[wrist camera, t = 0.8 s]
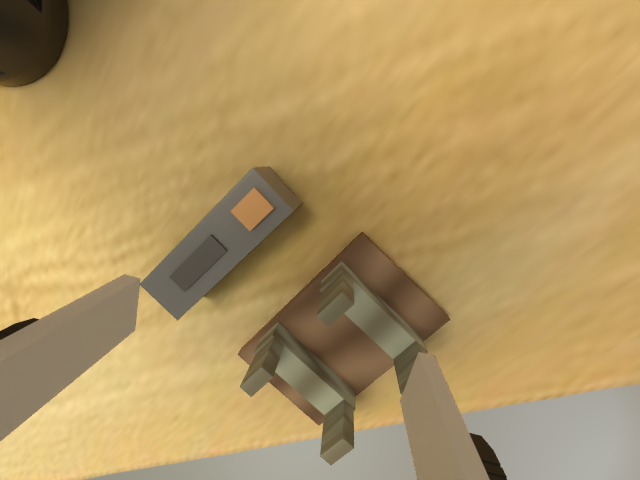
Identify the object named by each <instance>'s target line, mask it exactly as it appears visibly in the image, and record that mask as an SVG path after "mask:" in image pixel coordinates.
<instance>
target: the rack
mask: <svg viewBox="0 0 640 480" xmlns="http://www.w3.org/2000/svg"><path fill="white" fill-rule="evenodd" d="M449 320H450V319H449V317H448V315H447V314H446V313H445V312H444V311H443V310H442V309H441V308H440V307H439V306H438V305H437V304H436V303H435V302H434V301H433V300H432V299H431V298H430V297H429V296H427V295H426V294H425V293H424V292H423V291H422V290H421V289H420V288H419V287H418V286H417V285H416V284H415V283H414V282H413V281H412V280H411V279H410V278H409V277H408V276H407V275H406V274H405V273H404V272H403V271H402V270H401V269H400V268H399V267H398V266H397V265H396V264H395V263H394V262H393V261H392V260H391V259H390V258H389V257H388V256H386V255H385V254H384V253H383V252H382V251H381V250H380V249H379V248H378V247H377V246H376V245H375V244H374V243H373V242H372V241H371V240H370V239H369V238H368V237H367V236H366V235H365V234H364V233H363V232H361V233H360V234H359V235H358V236H357V237H356V238H355V239H354V240H353V241H352V242H351V243H350V244H349V245H348V246H347V247H346V248H345V249H344V250H343V251H342V252H341V253H340V254H339V255H338V256H337V257H335V258H334V259H333V260H332V261H331V262H330V263H329V264H328V265H327V266H326V267H325V268H324V269H323V270H322V271H321V272H320V273H319V274H318V275H317V276H316V277H315V278H314V279H313V280H312V281H311V282H310V283H309V284H308V285H306V286H305V287H304V288H303V289H302V290H301V291H300V292H299V293H298V294H297V295H296V296H295V297H294V298H293V299H292V300H291V301H290V302H289V303H288V304H287V305H286V306H285V307H284V308H283V309H282V310H281V311H280V312H279V313H277V314H276V315H275V316H274V317H273V318H272V319H271V320H270V321H269V322H268V323H267V324H266V325H265V326H264V327H263V328H262V329H261V330H260V331H259V332H258V333H257V334H256V335H255V336H254V337H253V338H252V339H251V340H250V341H248V342H247V343H246V344H245V345H244V346H243V347H242V348H241V350H240V351H239V353H238V355H239V356H240V357H241V358H242V359H243V360H244V361H246V362H247V363H248V364H249V365H250V367H249V369H248V371H247V373H246V375H245V377H244V379H243V381H242V383H241V386H240V388H242V389H243V390H244V391H245V392H246V393H247V394H249V395H250V396H251V397H252V396H253V395H254V394H255V393H256V392H257V391H259V390H260V389H261V388H262V387H263V386H264V385H265V384H266V383H267V382H270V383H271V384H272V385H273V386H274V387H275V388H276V389H278V390H279V391H280V392H281V393H282V394H283V395H285V396H286V397H287V398H288V399H289V400H290V401H291V402H293V403H294V404H295V405H296V406H297V407H298V408H299V409H301V410H302V411H303V412H304V413H305V414H306V415H307V416H309V417H310V418H311V419H312V420H313V421H314V422H315V423H317V424H318V425H320V424H322V423H323V422H324V423H323V433H322V444H321V453H320V454H321V455H320V456H321V457H322V458H323V459H324V460H325V461H327V462H328V463H329V464H330V465H332V464H334V463H335V462H336V461H338V460H339V459H340V458H341V457H343V456H344V455H345V454H347V453H348V452H349V451H351V450H352V449H353V448H354V415H353V411H354V410H355V396H356V395H358V394H359V393H360V392H361V391H362V390H364V389H365V388H366V387H367V386H369V385H370V384H371V383H372V382H374V381H375V380H376V379H377V378H379V377H380V376H381V375H382V374H383V373H385V372H386V371H387V370H388V369H390V368H391V367H392V366H393V365H395V370H396V375H397V379H398V384H399V388H400V393H401V394H403V392H404V389H405V386H406V384H407V381H408V378H409V376H410V373H411V370H412V368H413V365H414V362H415V360H416V357H417V354H418V352H422V353H425V354H427V349H426V347H425V344H424V342H423V341H424V340H426V339H427V338H428V337H429V336H430V335H432V334H433V333H434V332H435V331H437V330H438V329H439V328H440V327H442V326H443V325H444V324H445V323H447V322H448V321H449Z"/></svg>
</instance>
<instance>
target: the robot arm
mask: <svg viewBox="0 0 640 480" xmlns="http://www.w3.org/2000/svg"><path fill="white" fill-rule="evenodd" d="M67 23H68V10H67V0H0V86H20V85H25V84H28V83H31V82H33V81H35V80H37V79H38V78H40V77H41V76H43V75H44V74H45V73H46V72H47V71H48V70H49V69H50V68H51V67H52V66H53V64H54V63H55V61H56V60H57V58H58V56H59V54H60V52H61V50H62V47H63V45H64V41H65V37H66V32H67ZM139 287H140V278H136V277H133V276H129V275H125V274H124V275H122V276H120V277H118V278H117V279H115V280H113V281H111V282H109V283H107V284H105V285H103V286H102V287H100V288H98V289H96V290H94V291H92V292H90V293H88V294H86V295H85V296H83V297H81V298H79V299H77V300H75V301H73V302H71V303H70V304H68V305H66V306H64V307H62V308H60V309H58V310H56V311H55V312H53V313H51V314H49V315H47V316H45V317H43V318H41V319H36V318H33V319H29V320H26V321H22V322H19V323H15V324H13V325H11V326H9V327H7V328H5V329H3V330H1V331H0V441H1V440H3V439H4V438H5V437H6V436H7V435H9V434H10V433H11V432H12V431H13V430H15V429H16V428H17V427H18V426H20V425H21V424H22V423H23V422H24V421H26V420H27V419H28V418H29V417H30V416H32V415H33V414H34V413H35V412H37V411H38V410H39V409H40V408H41V407H43V406H44V405H45V404H46V403H47V402H49V401H50V400H51V399H52V398H54V397H55V396H56V395H57V394H58V393H60V392H61V391H62V390H63V389H64V388H66V387H67V386H68V385H69V384H71V383H72V382H73V381H74V380H75V379H77V378H78V377H79V376H80V375H81V374H83V373H84V372H85V371H86V370H88V369H89V368H90V367H91V366H92V365H94V364H95V363H96V362H97V361H98V360H100V359H101V358H102V357H103V356H105V355H106V354H107V353H108V352H109V351H111V350H112V349H113V348H114V347H115V346H117V345H118V344H119V343H120V342H122V341H123V340H124V339H125V338H126V337H128V336H129V335H130V334H131V333H132V332H134V331H135V326H136V316H137V307H138V297H139ZM400 403H401V407H402V412H403V416H404V421H405V425H406V430H407V434H408V439H409V444H410V448H411V453H412V457H413V462H414V466H415V470H416V475H417V480H507V479H506V478H507V477H506V475H505V473H504V471H503V469H502V468H501V467H500V463H499V461H498V459H497V457H496V455H495V453H494V451H493V449H492V448H491V447H490V446H489V445H488V443H487V442H486V441H485V440H484V439H483V437H482V436H479V435H475V434H472V433H469V432H468V430H467V427H466V425H465V423H464V420H463V418H462V416H461V414H460V411H459V409H458V407H457V405H456V402H455V400H454V398H453V396H452V393H451V391H450V389H449V387H448V384H447V382H446V380H445V378H444V375H443V373H442V371H441V368H440V366H439V364H438V362H437V359H436V357H435V356H433V355H429V354H425V353H422V352H418V354H417V357H416V360H415V362H414V365H413V368H412V370H411V373H410V376H409V378H408V381H407V384H406V386H405V389H404V392H403V394H402V397H401V400H400Z"/></svg>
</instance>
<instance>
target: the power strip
mask: <svg viewBox="0 0 640 480" xmlns="http://www.w3.org/2000/svg"><path fill="white" fill-rule="evenodd" d="M302 203H303V202H302V201H301V200H300V199H299V198H298V197H297V196H296V195H295V194H294V193H293V192H292V191H291V190H290V188H289V187H288V186H287V185H286V184H285V183H284V182H283V181H282V180H281V179H280V178H279V177H278V176H277V175H276V173H275V172H274V171H273V170H272V169H271V168H270V167H256V168H252V169H251V170H250V171H249V172H248V173H247V174H246V175H245V176H244V177H243V178H242V179H241V180H240V181H239V182H238V183H237V184H236V186H235V187H234V188H233V189H232V190H231V191H230V192H229V193H228V194H227V195H226V196H225V197H224V198H223V199H222V200H221V201H220V202H219V203H218V204H217V205H216V206H215V207H214V208H213V209H212V210H211V211H210V212H209V213H208V214H207V215H206V216H205V217H204V218H203V219H202V220H201V221H200V223H199V224H198V225H197V226H196V227H195V228H194V229H193V230H192V231H191V232H190V233H189V234H188V235H187V236H186V237H185V238H184V239H183V240H182V241H181V242H180V243H179V244H178V245H177V246H176V247H175V248H174V249H173V250H172V251H171V252H170V253H169V254H168V255H167V256H166V257H165V258H164V260H163V261H162V262H161V263H160V264H159V265H158V266H157V267H156V268H155V269H154V270H153V271H152V272H151V273H150V274H149V275H148V276H147V277H146V278H145V279H144V280H143V281H142V282H141V283H140V285H141V286H142V287H143V288H144V289H145V290H146V291H147V292H148V293H149V294H150V295H151V296H152V297H153V298H155V299H156V300H157V301H158V302H159V303H160V304H161V305H162V306H163V307H164V308H165V309H166V310H167V311H168V312H169V313H170V314H171V315H172V316H173V317H175V318H176V319H177V320H178V319H180V318H181V317H182V316H183V315H184V314H185V313H186V312H187V311H188V310H189V309H190V308H191V307H193V306H194V305H195V304H196V303H197V302H198V301H199V300H200V299H201V298H202V297H203V296H204V295H205V294H206V293H208V292H209V291H210V290H211V289H212V288H213V287H214V286H215V285H216V284H217V283H218V282H219V281H220V280H221V279H222V278H223V277H224V276H226V275H227V274H228V273H229V272H230V271H231V270H232V269H233V268H234V267H235V266H236V265H237V264H238V263H239V262H240V261H241V260H242V259H244V258H245V257H246V256H247V255H248V254H249V253H250V252H251V251H252V250H253V249H254V248H255V247H256V246H257V245H258V244H259V243H260V242H262V241H263V240H264V239H265V238H266V237H267V236H268V235H269V234H270V233H271V232H272V231H273V230H274V229H275V228H276V227H277V226H278V225H280V224H281V223H282V222H283V221H284V220H285V219H286V218H287V217H288V216H289V215H290V214H291V213H292V212H293V211H294V210H295V209H296V208H298V207H299V206H300V205H301V204H302Z"/></svg>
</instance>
